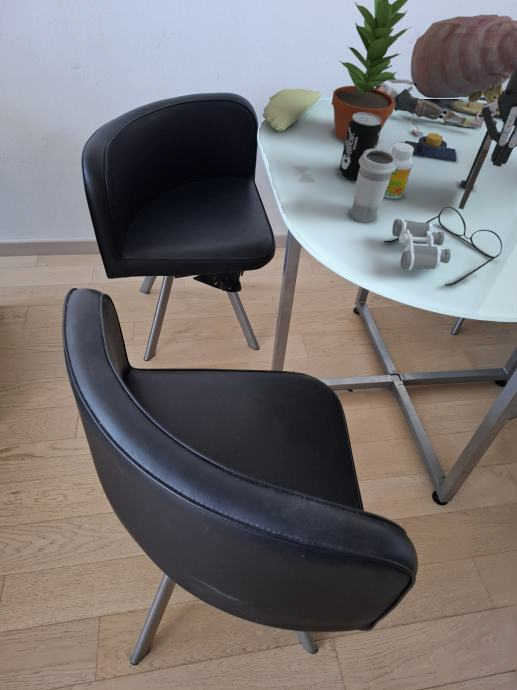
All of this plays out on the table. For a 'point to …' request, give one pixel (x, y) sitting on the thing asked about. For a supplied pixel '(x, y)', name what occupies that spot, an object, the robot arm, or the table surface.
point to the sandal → (472, 104)
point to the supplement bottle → (400, 170)
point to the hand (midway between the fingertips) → (496, 164)
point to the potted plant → (369, 68)
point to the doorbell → (433, 150)
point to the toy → (425, 107)
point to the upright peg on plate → (463, 182)
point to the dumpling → (288, 106)
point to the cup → (372, 183)
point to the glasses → (464, 240)
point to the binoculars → (420, 254)
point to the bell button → (433, 139)
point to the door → (475, 171)
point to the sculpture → (464, 55)
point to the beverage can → (359, 142)
